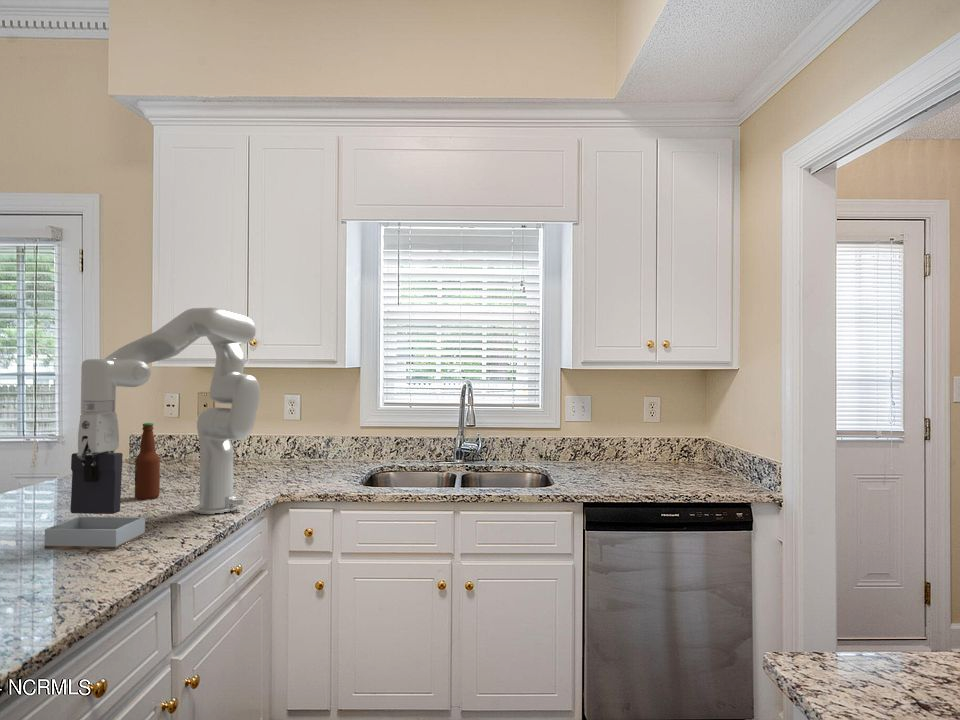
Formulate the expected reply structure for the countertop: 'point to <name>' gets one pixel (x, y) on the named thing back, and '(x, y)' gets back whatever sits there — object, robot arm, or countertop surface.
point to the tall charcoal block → (97, 485)
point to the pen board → (89, 546)
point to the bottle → (147, 467)
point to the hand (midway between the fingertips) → (97, 479)
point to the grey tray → (95, 531)
